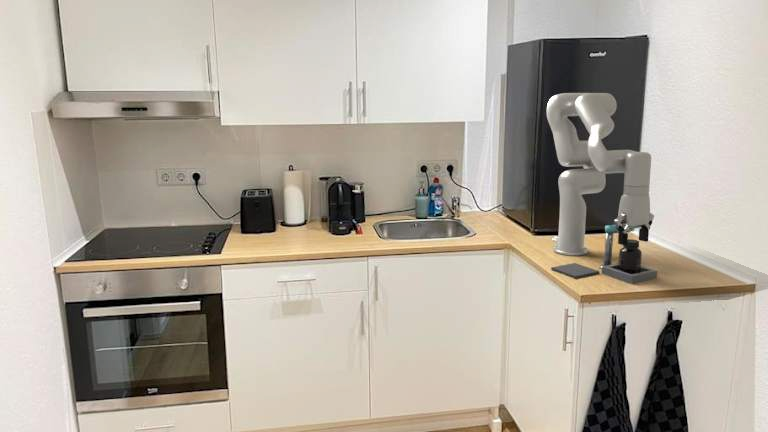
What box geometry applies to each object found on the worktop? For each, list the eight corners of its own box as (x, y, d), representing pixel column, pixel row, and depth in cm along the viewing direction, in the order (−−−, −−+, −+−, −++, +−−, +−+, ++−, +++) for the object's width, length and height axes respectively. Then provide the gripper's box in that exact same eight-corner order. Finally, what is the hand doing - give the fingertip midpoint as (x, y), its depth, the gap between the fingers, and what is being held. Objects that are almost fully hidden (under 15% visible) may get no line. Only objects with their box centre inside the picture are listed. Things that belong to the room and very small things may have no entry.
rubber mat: (551, 269, 195) (551, 267, 195) (574, 265, 200) (574, 262, 200) (575, 278, 185) (575, 276, 185) (599, 273, 190) (599, 271, 190)
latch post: (596, 267, 196) (598, 231, 194) (606, 265, 199) (609, 229, 196) (607, 271, 192) (610, 234, 189) (618, 269, 194) (620, 233, 191)
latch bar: (613, 233, 189) (613, 228, 189) (599, 230, 194) (599, 225, 194) (648, 228, 196) (649, 223, 196) (634, 224, 202) (635, 219, 201)
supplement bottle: (634, 272, 191) (637, 238, 188) (644, 278, 184) (647, 243, 182) (614, 272, 191) (616, 238, 188) (623, 279, 184) (626, 243, 181)
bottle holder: (601, 273, 190) (602, 266, 189) (626, 268, 195) (627, 261, 195) (631, 283, 180) (632, 276, 179) (656, 277, 185) (657, 270, 184)
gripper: (644, 187, 188) (641, 237, 191) (607, 191, 181) (604, 243, 184) (664, 189, 182) (661, 241, 185) (627, 194, 174) (624, 248, 177)
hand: (633, 242), depth 184 cm, fingers open, 9 cm apart
